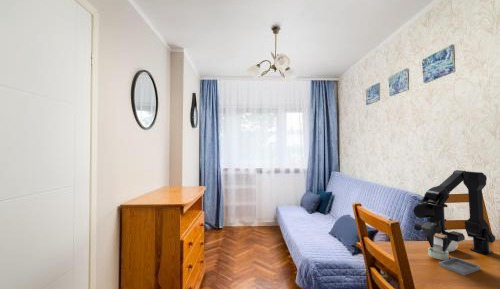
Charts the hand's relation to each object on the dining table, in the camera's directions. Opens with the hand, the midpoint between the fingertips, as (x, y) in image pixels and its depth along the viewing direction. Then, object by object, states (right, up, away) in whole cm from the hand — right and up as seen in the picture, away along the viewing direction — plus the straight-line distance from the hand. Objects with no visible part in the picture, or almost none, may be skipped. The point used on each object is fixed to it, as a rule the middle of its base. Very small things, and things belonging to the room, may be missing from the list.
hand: (438, 249), depth 109 cm
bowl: (0, -4, 0) cm, 4 cm away
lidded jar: (+10, -4, +8) cm, 13 cm away
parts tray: (0, -3, -11) cm, 11 cm away
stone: (0, -3, 0) cm, 3 cm away
